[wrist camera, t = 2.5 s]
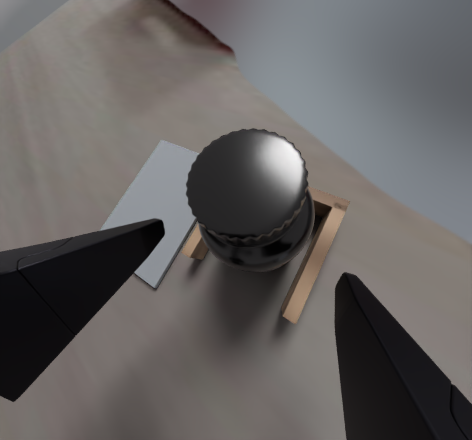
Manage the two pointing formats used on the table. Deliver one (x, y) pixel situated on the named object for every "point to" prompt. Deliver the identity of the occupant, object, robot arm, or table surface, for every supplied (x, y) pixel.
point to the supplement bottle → (251, 199)
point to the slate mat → (159, 206)
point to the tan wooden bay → (313, 260)
